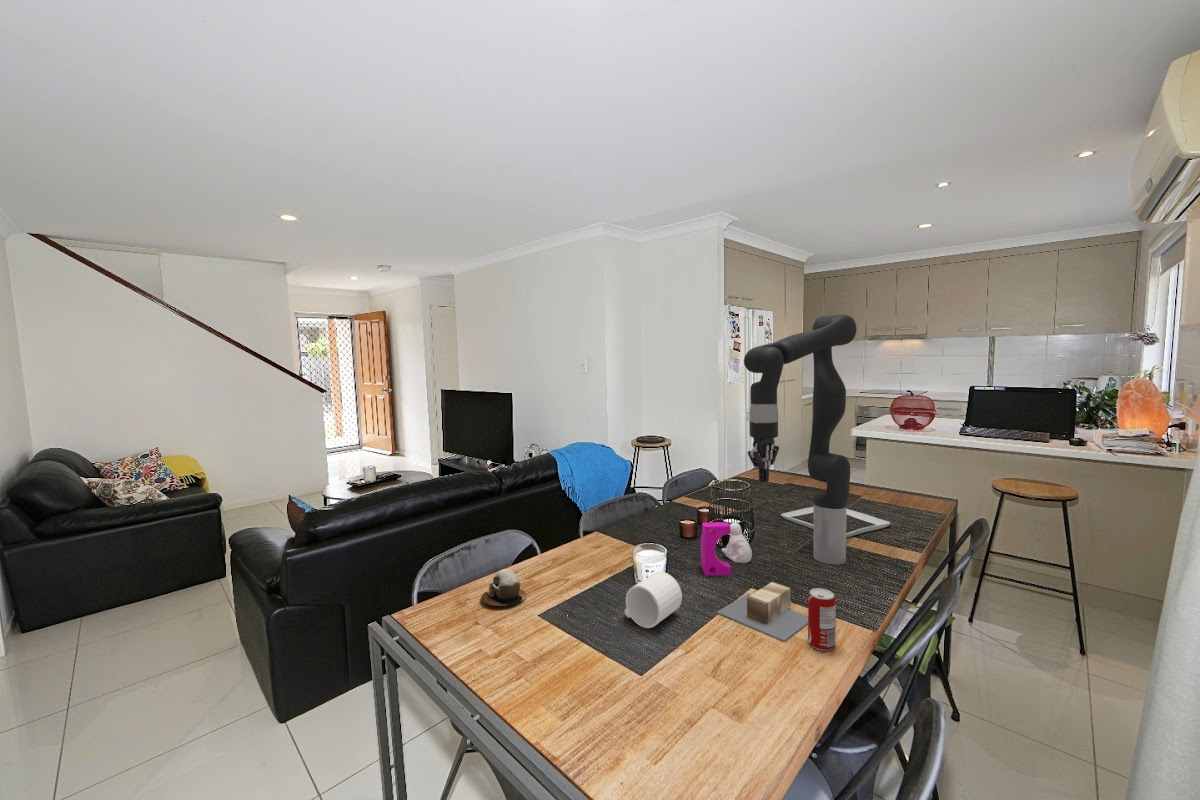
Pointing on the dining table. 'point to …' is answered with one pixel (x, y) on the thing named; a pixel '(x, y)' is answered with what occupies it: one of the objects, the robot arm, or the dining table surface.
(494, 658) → the dining table surface
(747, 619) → the mat
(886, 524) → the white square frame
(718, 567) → the toy block
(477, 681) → the dining table surface
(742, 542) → the pale pink lumpy piece
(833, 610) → the soda can
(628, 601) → the mug
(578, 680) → the dining table surface
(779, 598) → the birch block
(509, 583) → the skull
